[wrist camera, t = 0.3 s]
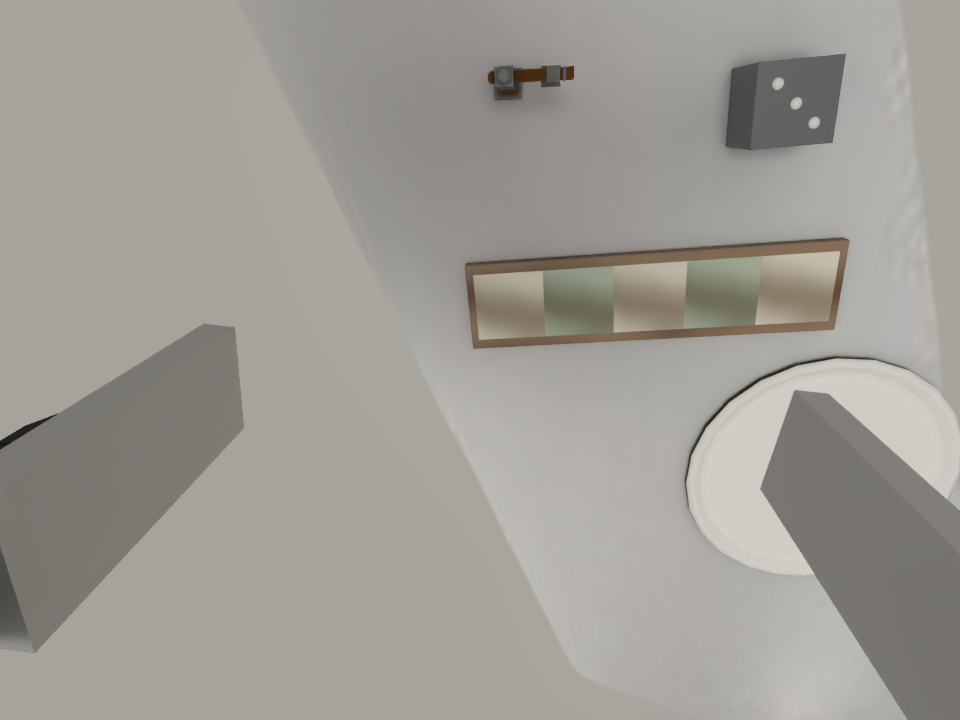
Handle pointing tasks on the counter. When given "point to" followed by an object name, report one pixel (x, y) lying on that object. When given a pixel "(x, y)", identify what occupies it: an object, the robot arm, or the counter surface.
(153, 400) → the robot arm
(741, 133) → the die
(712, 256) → the board
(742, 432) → the plate
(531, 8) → the counter surface
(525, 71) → the lantern lamp post
